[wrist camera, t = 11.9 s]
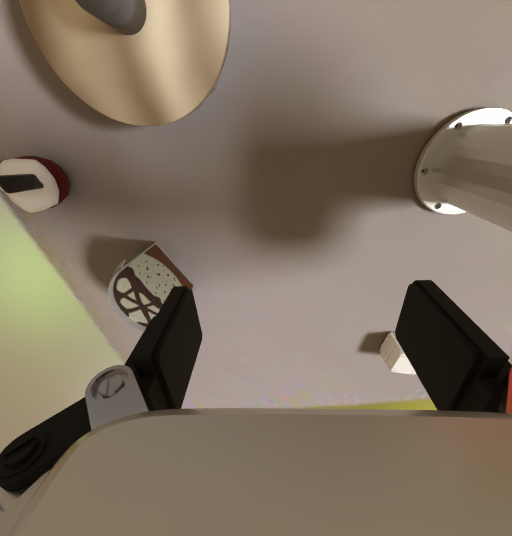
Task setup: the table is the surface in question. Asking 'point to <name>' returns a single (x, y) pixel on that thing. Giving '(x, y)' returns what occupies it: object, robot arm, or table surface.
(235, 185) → the table surface
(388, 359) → the container set
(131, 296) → the food container
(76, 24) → the lid
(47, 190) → the cocoa
